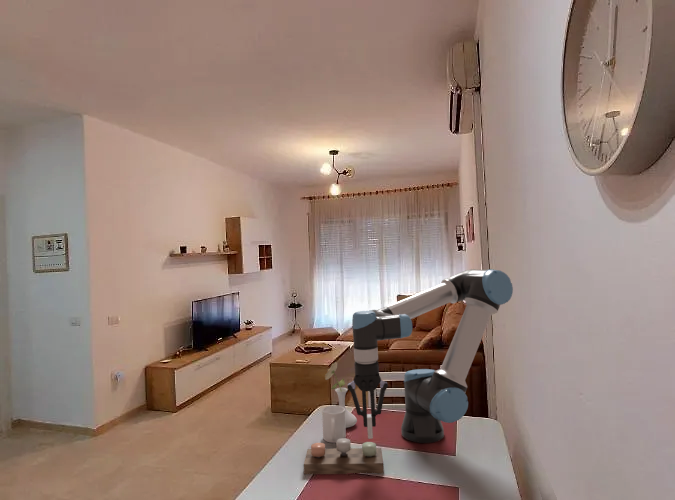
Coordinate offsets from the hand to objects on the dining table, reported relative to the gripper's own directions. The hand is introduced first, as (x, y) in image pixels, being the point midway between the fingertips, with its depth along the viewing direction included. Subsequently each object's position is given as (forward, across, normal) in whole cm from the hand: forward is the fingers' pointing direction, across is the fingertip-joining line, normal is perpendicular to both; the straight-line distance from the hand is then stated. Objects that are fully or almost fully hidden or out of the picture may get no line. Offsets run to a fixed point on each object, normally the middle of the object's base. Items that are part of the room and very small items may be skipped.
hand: (370, 436), depth 127 cm
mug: (+9, +13, -18) cm, 23 cm away
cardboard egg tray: (+9, +9, 0) cm, 12 cm away
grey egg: (+5, +9, 0) cm, 10 cm away
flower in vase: (+9, +11, -31) cm, 34 cm away
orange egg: (+6, +17, 0) cm, 18 cm away
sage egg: (+7, +1, 0) cm, 7 cm away
